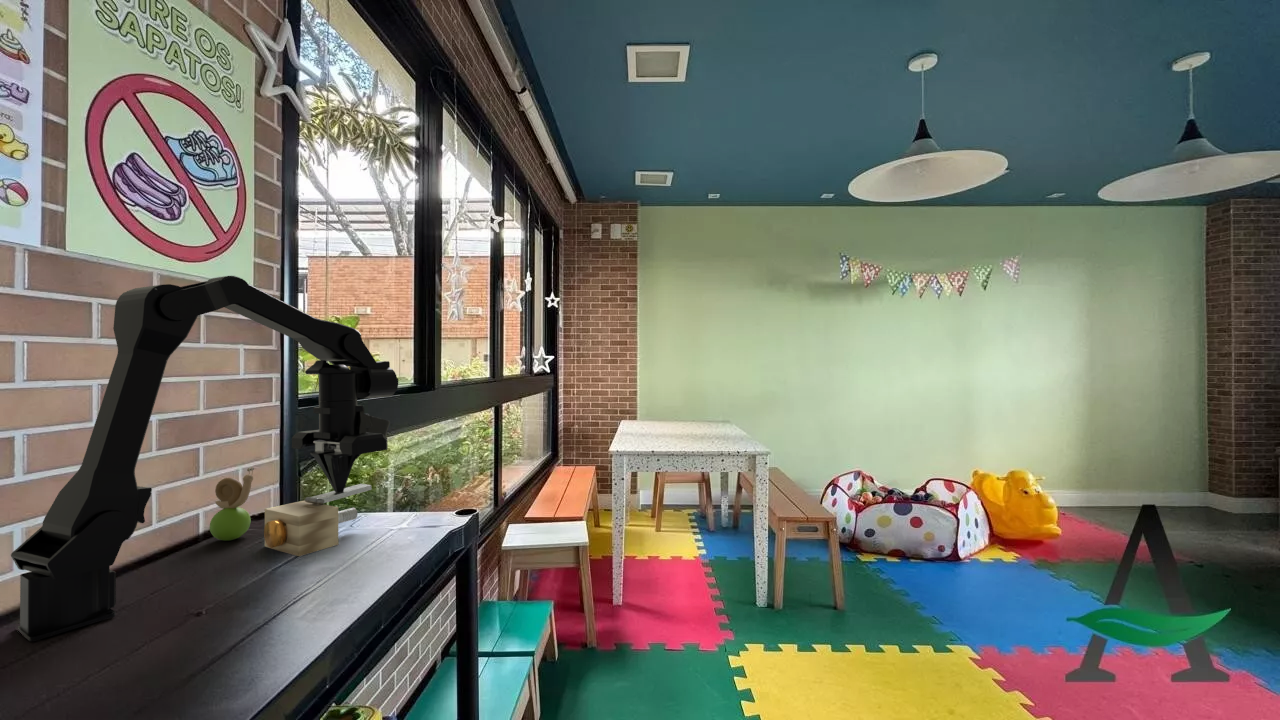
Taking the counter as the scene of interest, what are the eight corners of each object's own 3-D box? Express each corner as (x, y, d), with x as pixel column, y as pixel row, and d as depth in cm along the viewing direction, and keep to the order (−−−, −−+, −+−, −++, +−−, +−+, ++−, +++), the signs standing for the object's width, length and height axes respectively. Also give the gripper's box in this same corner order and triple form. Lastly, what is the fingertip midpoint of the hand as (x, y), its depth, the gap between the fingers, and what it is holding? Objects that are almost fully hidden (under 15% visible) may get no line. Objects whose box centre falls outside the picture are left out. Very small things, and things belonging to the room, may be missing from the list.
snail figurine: (239, 544, 85) (239, 470, 85) (200, 545, 85) (200, 471, 85) (264, 534, 90) (264, 464, 90) (227, 534, 90) (227, 465, 90)
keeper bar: (318, 505, 84) (318, 500, 84) (304, 503, 86) (304, 497, 86) (373, 490, 92) (373, 485, 92) (359, 488, 94) (359, 483, 94)
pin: (277, 549, 79) (277, 523, 79) (263, 545, 81) (263, 519, 81) (361, 526, 90) (360, 503, 90) (347, 523, 92) (347, 500, 92)
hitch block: (298, 556, 79) (298, 516, 79) (264, 546, 83) (264, 508, 84) (338, 544, 84) (338, 507, 84) (304, 535, 89) (304, 500, 89)
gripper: (414, 398, 92) (416, 487, 92) (351, 397, 101) (352, 477, 101) (353, 402, 82) (354, 501, 82) (289, 401, 91) (290, 490, 91)
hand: (339, 491), depth 89 cm, fingers closed, pressing on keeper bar
